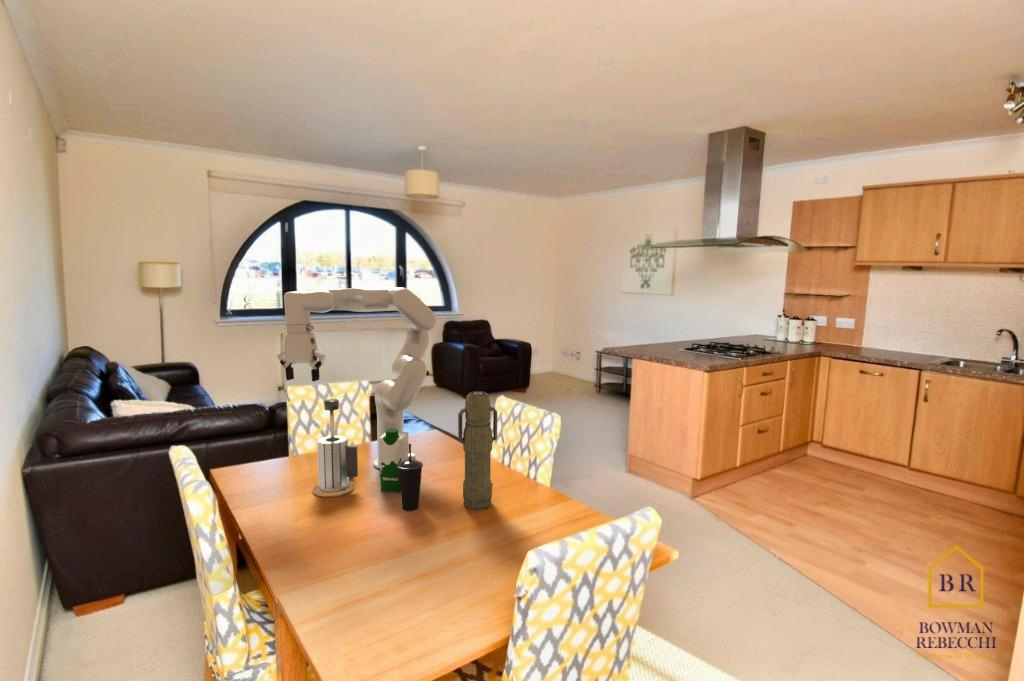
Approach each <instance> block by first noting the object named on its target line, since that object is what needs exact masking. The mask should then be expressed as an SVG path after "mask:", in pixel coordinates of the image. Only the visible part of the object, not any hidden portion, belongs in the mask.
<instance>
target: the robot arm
mask: <svg viewBox="0 0 1024 681" xmlns="http://www.w3.org/2000/svg"><path fill="white" fill-rule="evenodd" d="M283 302H284V303H283V305H284V313H285V327H286V328H285V329H286V333H285V334H284V342H283V343H284V347H283V348H284V351H282V352H280V353H279V354H277V359H278V360H279V363H280V365H281V366H282V368H283V369H284V370H285V372H284V373H285V381H291V380H294V379H295V375H294V373H295V372H294V367H293V364H301V365H302V364H307V365H308V364H309V366H310V367H311V368H312V369H311V370H310V371H311V382H316V381H319V380H320V376H321V375H320V368H321V366H322V365H323V364H324V361H325V359H326V356H325V355H324V354H323V353H322V352H319V349H318V343H317V339H316V336H315V333H314V332H312V330H314V329H315V327H314V325H312V321H311V313H321V314H323V313H327V312H330V311H350V312H358V313H360V312H361V313H362V312H363V313H367V312H369V313H370V312H384V311H385V312H386V311H387V312H390V311H391V312H393V311H397V312H399V313H400V314H401V315H402V321H403V325H404V327H405V330H406V338H405V340H404V343H403V345H402V347H401V349H400V351H399V352H398V354H397V355H396V357H395V359H394V360H393V363H392V365H391V373H392V374H393V376H394V377H396V380H393V379H385V380H383V381H381V382H379V383H378V384H377V386H376V387H375V389H374V402H375V407H376V419H377V420H376V421H377V422H376V423H377V424H376V426H377V428H376V433H377V434H376V436H377V438H376V439H377V443H376V444H377V458H376V459H375V460H373V466H374V467H375V468H376V469H378V470H380V446H379V438H380V437H381V436H382V435H383V434H384V433H386V430H388V429H397V430H398V432H405V431H404V428H405V427H404V424H405V423H404V422H405V421H404V411H405V410H407V409H408V408H409V407H410V406H411V405H412V403H413V402H414V400H415V398H416V397H417V394H418V392H419V390H420V389H421V387H422V385H423V384H424V382H425V380H426V377H427V371H428V370H427V365H426V363H425V362H424V361H423V358H424V355H425V354H426V351H427V349H428V347H429V343H430V342H429V341H430V337H429V336H430V335H429V332H430V331H433V329H434V328H435V327H436V324H437V317H436V315H435V312H434V311H433V310H432V309H431V308H430V307H429V306H428V305H427V304H425V303H424V302H423V301H422V300H421V299H420V298H419V297H418V296H417V295H416V294H415V293H414V292H413V291H411V290H410V289H409V288H406V287H398V286H388V287H387V286H386V287H385V286H381V287H376V286H375V287H370V286H369V287H366V286H365V287H351V288H327V289H326V288H322V289H321V288H317V289H311V290H309V291H308V292H307V291H305V290H304V291H303V290H298V291H296V290H294V291H287V292H285V293H284V295H283ZM416 459H417V458H416V454H414V453H411V460H416ZM408 460H409V453H408Z"/></svg>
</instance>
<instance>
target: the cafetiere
mask: <svg viewBox="0 0 1024 681" xmlns="http://www.w3.org/2000/svg"><path fill="white" fill-rule="evenodd" d="M334 437H335V441H333V442H331V435H327V436H323V437H320V438H318V439H317V441H316V444H317V448H316V450H317V473H318V474H317V476H318V477H317V478H318V483H317V484H315V485H314V486H313V488H312V494H313V495H315V494H316V495H318V496H317V497H319V496H322V497H321V498H337V497H341V496H345V495H348V494H350V493H352V492H353V491H354V490H355V488H356V485H355V483H354V482H353V481H352V480H350V478H349V477H351V478H358V476H359V469H358V468H359V465H358V462H359V461H358V445H349V438H348V437H347V436H345V435H340V434H339V435H338V434H337V435H336V434H334ZM316 495H315V496H316Z"/></svg>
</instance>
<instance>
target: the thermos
mask: <svg viewBox="0 0 1024 681" xmlns="http://www.w3.org/2000/svg"><path fill="white" fill-rule="evenodd" d="M464 403H465V407H464V408H461V409H460V410H459V412H458V413H457V417H458V418H457V420H458V421H457V423H458V424H457V425H458V426H457V432H458V433H457V434H458V435H457V436H458V437H457V440H458V441H459V442H460V443H461V444H463V445H462V446H463V447H462V448H463V452H464V480H463V483H462V488H463V489H462V498H463V507H464V508H465V509H467V510H471V511H482V509H484V510H487V509H489V508H490V507H491V506H492V497H493V483H492V481H491V452H492V450H493V443H494V441H497V439H498V411H497V409H496V408H495V407H494V406H491V400H490V398H489V394H488V393H487V392H485V391H481V390H480V391H478V390H476V391H475V390H474V391H471V392H469V393H468V394H467V396H466V399H465V402H464ZM491 412H492V415H493V416H492V417H493V418H492V420H493V421H492V422H493V423H492V427H491V421H490V419H491ZM464 413H465V416H464V417H465V422H464V423H465V425H464V426H465V427H464V429H463V415H464ZM492 428H493V429H492ZM488 507H489V508H488ZM486 508H487V509H486Z"/></svg>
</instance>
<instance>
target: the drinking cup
mask: <svg viewBox="0 0 1024 681" xmlns="http://www.w3.org/2000/svg"><path fill="white" fill-rule="evenodd" d="M408 454H409V460H405V461H403V462H400V463H398V464H397V468H398V473H399V482H400V491H401V492H400V501H401V509H402V511H404V512H415V511H417V510H418V509H419V507H420V506H419V505H420V495H421V494H420V493H421V482H422V472H423V471H422V470H423V467H424V466H423V465H424V464H423V463H424V462H422V461H420V460H416V459H415V460H411V454H412V444H411V443H408Z"/></svg>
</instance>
